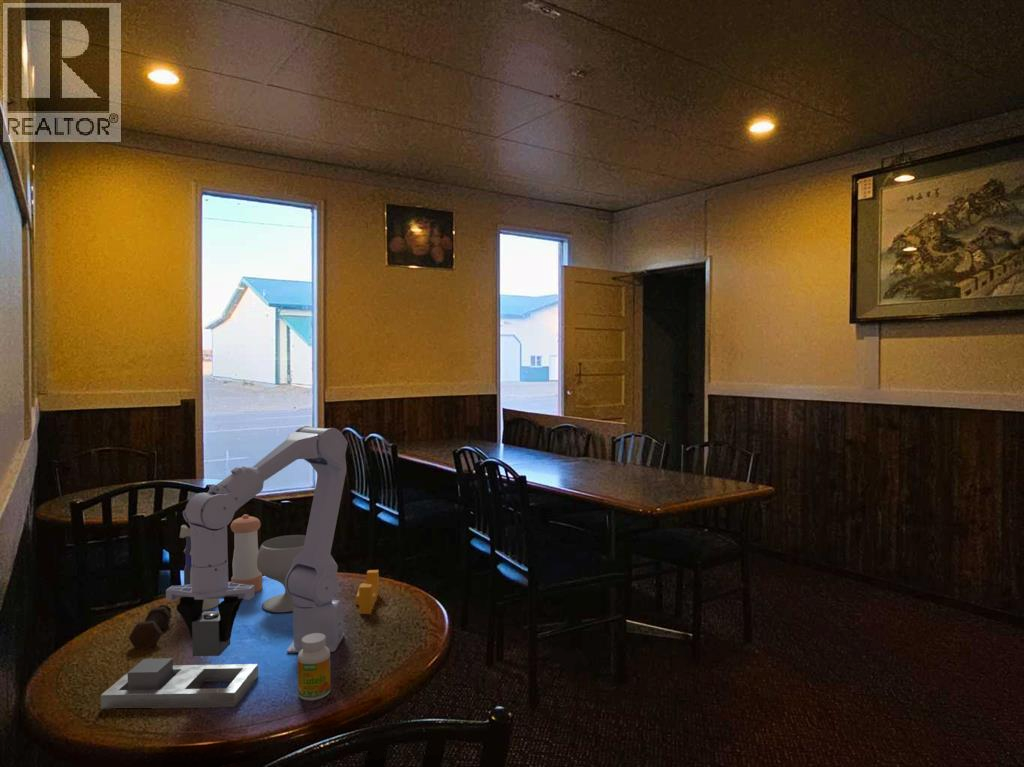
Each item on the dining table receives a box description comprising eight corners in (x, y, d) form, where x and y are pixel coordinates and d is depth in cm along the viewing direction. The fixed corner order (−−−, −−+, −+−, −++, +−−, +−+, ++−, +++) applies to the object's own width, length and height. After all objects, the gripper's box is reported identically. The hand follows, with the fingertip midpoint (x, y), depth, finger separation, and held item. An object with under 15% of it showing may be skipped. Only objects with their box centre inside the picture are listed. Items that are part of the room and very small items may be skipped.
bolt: (167, 627, 141) (148, 654, 126) (145, 618, 140) (124, 645, 125) (181, 603, 142) (164, 628, 127) (159, 594, 140) (139, 618, 126)
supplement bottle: (299, 704, 105) (298, 647, 104) (296, 689, 110) (295, 634, 109) (332, 697, 107) (331, 641, 107) (328, 682, 112) (327, 629, 112)
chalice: (279, 591, 157) (278, 532, 157) (330, 595, 154) (329, 534, 154) (245, 613, 143) (243, 548, 143) (300, 617, 141) (299, 551, 140)
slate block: (173, 686, 111) (172, 658, 111) (158, 701, 106) (157, 672, 106) (144, 686, 111) (144, 658, 111) (128, 701, 106) (127, 672, 106)
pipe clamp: (361, 596, 154) (360, 570, 154) (378, 595, 154) (378, 569, 154) (351, 615, 142) (351, 587, 142) (371, 615, 142) (370, 587, 142)
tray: (258, 676, 114) (257, 663, 114) (234, 706, 104) (234, 692, 104) (136, 679, 114) (135, 666, 114) (100, 709, 104) (100, 695, 104)
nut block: (230, 644, 112) (229, 609, 112) (219, 655, 107) (218, 619, 107) (204, 644, 112) (204, 609, 112) (192, 656, 107) (192, 619, 107)
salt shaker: (261, 593, 156) (259, 516, 156) (229, 596, 154) (227, 519, 154) (263, 583, 163) (262, 510, 163) (233, 586, 161) (231, 512, 160)
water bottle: (173, 607, 147) (170, 501, 147) (208, 596, 154) (206, 495, 154) (191, 615, 143) (189, 506, 142) (227, 603, 150) (224, 499, 149)
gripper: (155, 570, 105) (157, 650, 105) (242, 569, 105) (243, 649, 105) (177, 557, 112) (179, 632, 112) (258, 556, 112) (260, 631, 113)
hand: (211, 639), depth 109 cm, fingers closed on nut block, 4 cm apart
